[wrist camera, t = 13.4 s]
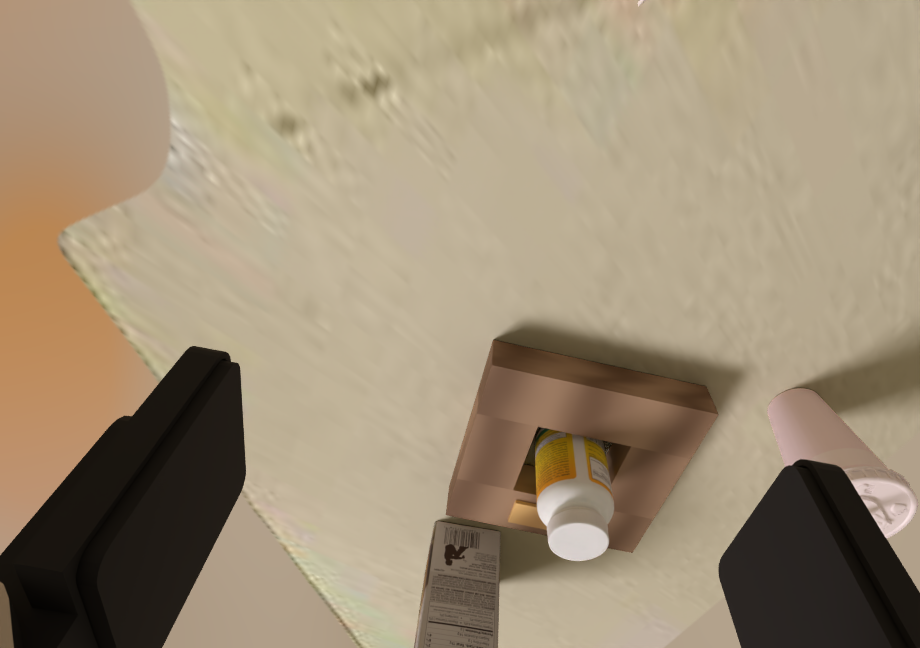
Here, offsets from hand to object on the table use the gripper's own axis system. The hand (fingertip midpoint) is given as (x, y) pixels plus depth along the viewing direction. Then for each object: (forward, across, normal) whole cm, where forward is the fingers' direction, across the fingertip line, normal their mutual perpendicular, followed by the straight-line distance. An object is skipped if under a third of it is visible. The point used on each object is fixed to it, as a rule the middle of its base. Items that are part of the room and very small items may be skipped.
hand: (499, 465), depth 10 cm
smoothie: (+27, -25, +17) cm, 41 cm away
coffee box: (+27, -4, +41) cm, 49 cm away
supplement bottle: (+27, -10, +24) cm, 38 cm away
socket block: (+27, -10, +24) cm, 38 cm away
